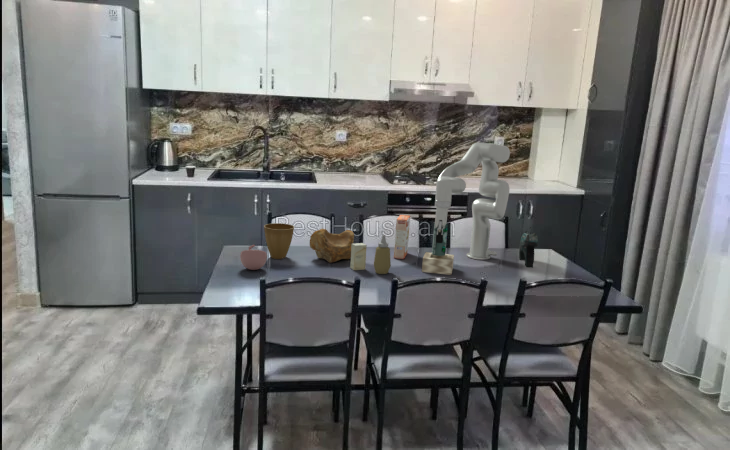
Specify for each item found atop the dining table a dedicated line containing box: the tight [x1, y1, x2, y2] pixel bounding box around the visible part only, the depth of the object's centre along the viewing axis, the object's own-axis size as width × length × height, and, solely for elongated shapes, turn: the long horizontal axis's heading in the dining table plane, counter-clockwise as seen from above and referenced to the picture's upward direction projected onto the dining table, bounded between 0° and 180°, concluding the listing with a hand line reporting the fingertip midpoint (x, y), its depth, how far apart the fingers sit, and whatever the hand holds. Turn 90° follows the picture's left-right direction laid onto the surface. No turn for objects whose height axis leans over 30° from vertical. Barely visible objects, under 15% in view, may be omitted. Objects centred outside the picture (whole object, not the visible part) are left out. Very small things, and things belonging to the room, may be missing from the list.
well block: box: [421, 251, 455, 276], centre depth 265 cm, size 14×12×7 cm
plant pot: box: [263, 222, 295, 260], centre depth 273 cm, size 15×15×16 cm
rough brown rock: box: [309, 228, 355, 264], centre depth 273 cm, size 23×17×15 cm
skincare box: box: [349, 242, 368, 271], centre depth 260 cm, size 6×4×12 cm
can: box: [431, 222, 449, 256], centre depth 263 cm, size 6×6×15 cm
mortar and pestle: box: [239, 244, 268, 271], centre depth 251 cm, size 12×12×12 cm
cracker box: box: [393, 214, 411, 260], centre depth 287 cm, size 14×6×21 cm, turn 168°
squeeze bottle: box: [373, 234, 392, 275], centre depth 255 cm, size 8×8×18 cm
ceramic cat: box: [518, 226, 539, 268], centre depth 285 cm, size 20×6×20 cm, turn 177°
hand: (439, 240), depth 263 cm, fingers closed on can, 6 cm apart
